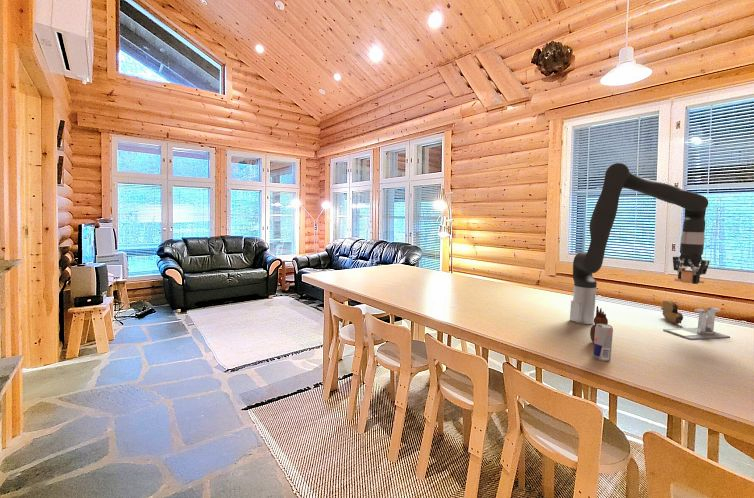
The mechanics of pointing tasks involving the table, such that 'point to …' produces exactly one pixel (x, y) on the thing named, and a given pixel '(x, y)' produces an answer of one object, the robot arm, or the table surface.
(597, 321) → the wooden figurine
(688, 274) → the cap
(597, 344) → the energy drink
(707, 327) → the white irregular piece
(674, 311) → the wooden carving
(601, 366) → the table surface
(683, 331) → the board
